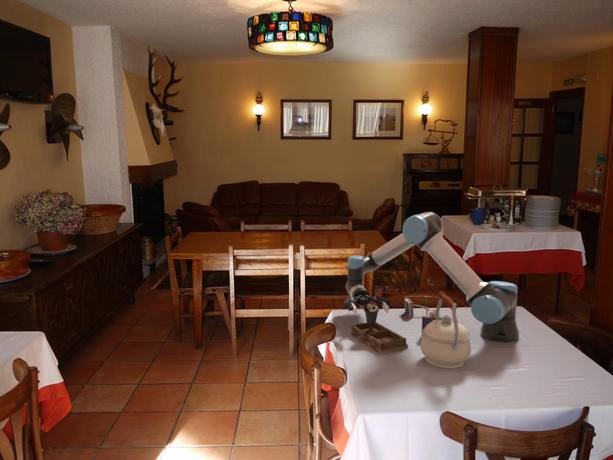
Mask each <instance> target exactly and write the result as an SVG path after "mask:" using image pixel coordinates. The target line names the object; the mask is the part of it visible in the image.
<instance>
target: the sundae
mask: <svg viewBox="0 0 613 460" xmlns="http://www.w3.org/2000/svg"><path fill="white" fill-rule="evenodd" d="M374 299H375V298H374ZM363 306H364V308H363V311H364V313H365V320H366V323H368V324H369V325H370V329H369V330H368V331H365V333H367V334H368V333H373V332H376V331H373V329H372V325H373V324H375V323H376V322H377V318H378V313H379V312H380V309H379V306H377V305H376V303H373V301H371V302H370V303H369V304H366V305H363Z"/></svg>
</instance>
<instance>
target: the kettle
mask: <svg viewBox="0 0 613 460" xmlns="http://www.w3.org/2000/svg"><path fill="white" fill-rule="evenodd" d="M437 297H438V303H437V306H436V308H435V310H436V320H433V321H432V322H430V323H429V324H427V325H426V327H425V328H424V329H423V330H422V329H421V340H420V344H419V345H420V350H421V353H422V354H423V355H424V357H425V360H426V362H427V363H428V364H429V365H432V366H434V367H436V368H440V369H457V368H460V367H463V366H464V364H465V361H466V360H467V359H468V358H469V357H470V355H471V353H472V345H471V341H470V339H471V333H470V332H469V331H468V330H467V328H466V327H465V325H463V324H461V323H460V322H458V318H457V308H458V304H457V303H456V302H454V301H453V299H451V298H450V296H448V295H447V294H446V292H443V291H439V293H438V295H437ZM443 303H444V304H445V305H446V306H448V307H449V309H450V310H451V317H450V315H448V314H447V315H446V314H445V315H444V316H443V315H442V316H443V317H442V318H441V320H439V316H440V311H441V310H440V309H441V307H442V304H443ZM422 334H423V336H422Z"/></svg>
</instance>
